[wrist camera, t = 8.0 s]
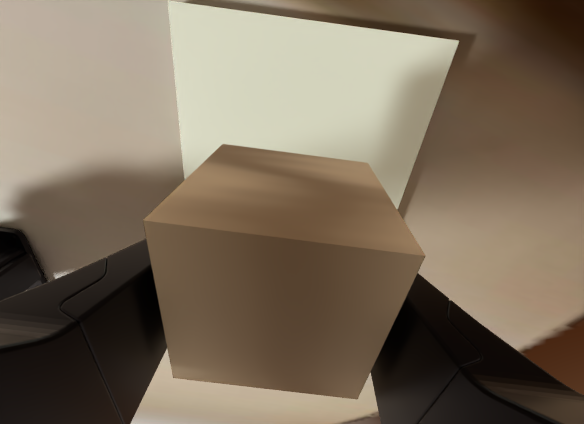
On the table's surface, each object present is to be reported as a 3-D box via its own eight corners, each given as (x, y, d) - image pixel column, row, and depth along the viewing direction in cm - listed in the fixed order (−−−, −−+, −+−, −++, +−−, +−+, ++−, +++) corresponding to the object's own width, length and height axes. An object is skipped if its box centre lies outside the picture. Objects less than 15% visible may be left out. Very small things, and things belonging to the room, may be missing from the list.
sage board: (195, 232, 20) (190, 240, 19) (176, 4, 13) (167, 0, 12) (374, 255, 20) (377, 263, 19) (449, 42, 13) (459, 40, 13)
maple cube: (224, 257, 11) (173, 377, 7) (222, 143, 9) (142, 220, 5) (337, 271, 11) (357, 399, 7) (368, 162, 9) (425, 255, 5)
